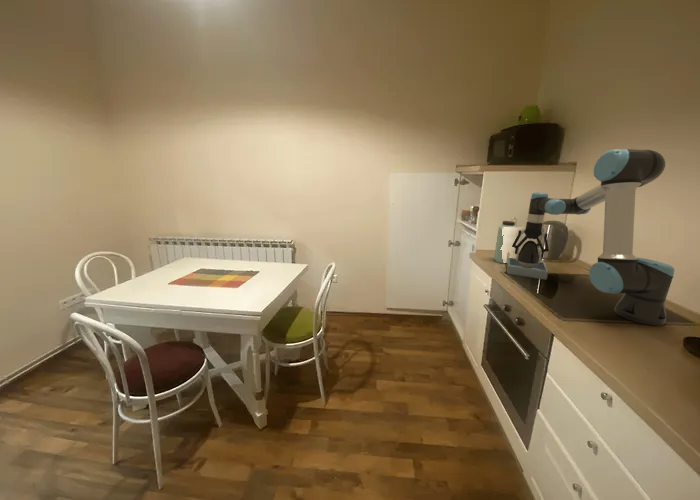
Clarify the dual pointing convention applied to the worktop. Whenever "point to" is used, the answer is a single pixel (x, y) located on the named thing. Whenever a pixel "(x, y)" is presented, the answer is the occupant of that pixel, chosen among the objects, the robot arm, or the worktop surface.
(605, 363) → the worktop surface
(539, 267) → the bin
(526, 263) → the pump dispenser
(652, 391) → the worktop surface
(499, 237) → the water bottle
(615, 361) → the worktop surface
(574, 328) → the worktop surface
